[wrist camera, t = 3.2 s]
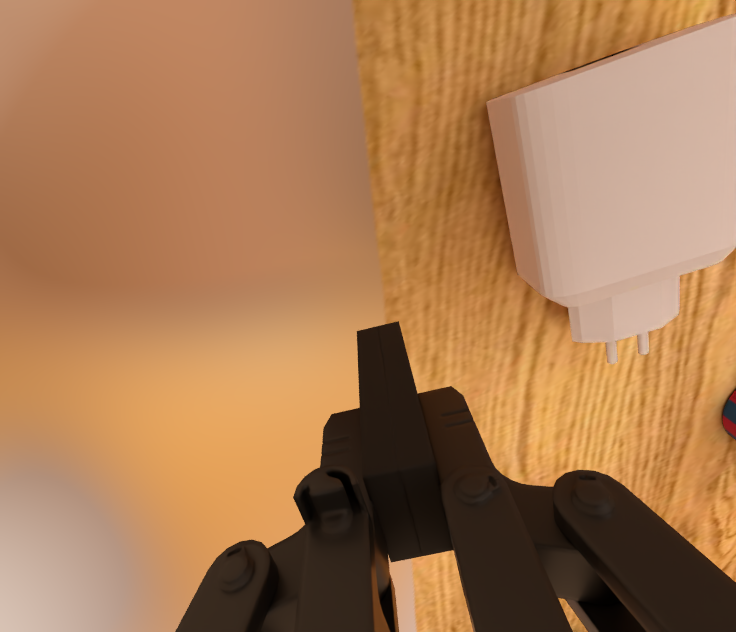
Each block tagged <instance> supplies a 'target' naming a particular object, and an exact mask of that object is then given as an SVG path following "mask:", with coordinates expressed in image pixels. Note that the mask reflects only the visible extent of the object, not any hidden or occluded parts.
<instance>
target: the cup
mask: <svg viewBox="0 0 736 632" xmlns="http://www.w3.org/2000/svg"><path fill="white" fill-rule="evenodd" d="M723 425H724V428H725V430H726V431H727V433H728V434H729V435H730V436H731V437H733V438H734V439H735V440H736V390H735V391H734V393H733V394H732V395H731V396H730V398H729V400H728V401H727V403H726V405H725V408H724V411H723Z"/></svg>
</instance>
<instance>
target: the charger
mask: <svg viewBox="0 0 736 632" xmlns="http://www.w3.org/2000/svg"><path fill="white" fill-rule="evenodd" d="M640 45H641V46H639V45H637V46H639V47H636V46H635V47H636V48H633V47H632V48H633V49H630V48H629V49H630V50H628V51H625V52H622V51H621V52H622V53H620V54H617V55H614V56H611V55H610V56H611V57H609V58H606V59H603V60H601V61H598V62H595V63H592V62H591V63H592V64H590V65H587V66H584V67H581V66H580V67H581V68H579V69H576V70H573V69H572V70H573V71H570V70H569V71H570V72H567V71H566V73H561V74H558V75H556V76H553V77H550V78H547V79H545V80H542V81H539V82H537V83H534V84H531V85H529V86H526V87H523V88H521V89H518V90H515V91H513V92H510V93H507V94H505V95H502V96H499V97H497V98H494V99H492V100H489V101H487V102H486V104H487V110H488V115H489V121H490V126H491V132H492V137H493V143H494V148H495V153H496V159H497V164H498V170H499V175H500V181H501V186H502V192H503V197H504V203H505V208H506V214H507V219H508V225H509V230H510V236H511V241H512V247H513V252H514V258H515V263H516V268H517V274H518V275H519V276H520V277H521V278H522V279H523V280H524V281H526V282H527V283H528V284H529V285H530V286H531V287H532V288H534V289H535V290H536V291H537V292H538V293H539V294H540V295H542V296H544V297H546V298H548V299H550V300H552V301H554V302H556V303H558V304H560V305H562V306H565V307H568V312H569V320H570V328H571V335H572V341H574V342H580V343H593V342H606V353H607V362H608V363H610V364H615V363H616V362H617V361H618V358H617V345H616V341H618V340H622V339H625V338H628V337H632V336H635V335H637V339H638V353H639V354H641V355H646V354H647V353H649V339H648V332H649V331H652V330H656V329H659V328H662V327H663V326H664V325H666V324H667V323H668V322H670V321H671V320H672V319H673V318H675V317H676V316H677V315H679V301H680V275H683V274H687V273H690V272H693V271H696V270H700V269H703V268H706V267H709V266H712V265H715V264H717V263H720V262H721V261H722V260H723V259H724V258H726V257H727V256H728V255H729V254H730V253H731V252H732V251H733V250H734V249H735V248H736V13H735V14H731V15H728V16H725V17H721V18H718V19H715V20H711V21H708V22H705V23H701V24H698V25H695V26H692V27H689V28H686V29H683V30H680V31H677V32H674V33H671V34H668V35H665V36H663V37H660V38H657V39H654V40H651V41H649V42H646V43H643V44H640ZM626 50H627V49H626ZM623 51H624V50H623ZM618 53H619V52H618ZM615 54H616V53H615ZM607 57H608V56H607ZM604 58H605V57H604ZM599 60H600V59H599ZM596 61H597V60H596ZM588 64H589V63H588ZM585 65H586V64H585ZM577 68H578V67H577ZM574 69H575V68H574Z"/></svg>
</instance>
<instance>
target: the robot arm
mask: <svg viewBox="0 0 736 632" xmlns="http://www.w3.org/2000/svg"><path fill="white" fill-rule="evenodd" d="M357 345H358V371H359V372H358V373H359V398H360V408H358V409H353V410H348V411H344V412H340V413H335V414H332V415H331V416H330V418H329V420H328V421H327V423H326V425H325V427H324V431H323V444H322V456H321V465H320V468H317V469H315V470H314V471H312V472H311V473H309V474H308V475H307V476H305V477H304V478H303V480H302V481H301V482H300V484H299V485H298V486H297V488H296V491H295V494H294V497H293V498H294V500H295V502H296V505H297V507H298V509H299V511H300V513H301V516H302V518H303V520H304V522H305V525H304V526H303V527H302V528H301V529H300V530H299V531H298V532H296V533H295V534H293V535H292V536H290V537H288V538H286V539H284V540H283V541H281V542H279V543H277V544H275V545H273V546H271V547H269V548H266V547H265V545H264V544H262V542H258V541H255V540H247V541H241V542H239V543H237V544H235V545H233V546H231V547H229V548H227V549H226V550H225V551H224V552H223V553H222V554H221V555H219V556H218V557H217V558H216V560H215V561H214V563H213V564H212V565H211V567H210V568H209V570H208V571H207V573H206V575H205V577H204V579H203V581H202V583H201V585H200V586H199V588H198V590H197V592H196V594H195V596H194V598H193V599H192V601H191V603H190V605H189V607H188V609H187V611H186V613H185V615H184V616H183V618H182V620H181V622H180V624H179V626H178V628H177V630H176V632H399V627H398V617H397V607H396V598H395V588H394V585H393V582H392V578H391V575H390V572H389V562H388V555H389V558H390V560H391V562H395V561H400V560H405V559H411V558H416V557H421V556H426V555H431V554H436V553H441V552H446V551H451V550H454V553H455V557H456V561H457V566H458V570H459V574H460V579H461V583H462V587H463V592H464V596H465V599H466V603H467V607H468V611H469V615H470V619H471V623H472V627H473V631H474V632H573V631H572V629H571V627H570V624H569V622H568V620H567V618H566V616H565V613H564V611H563V609H562V607H561V604H560V602H559V600H558V598H563V599H565V600H566V601H567V603H568V604H569V605H570V607H571V608H572V609H573V611H574V612H575V614H576V615H577V616H578V618H579V619H580V621H581V622H582V623H583V625H584V626H585V628H586V629H587V630H588V632H736V582H734V581H733V580H732V579H731V578H730V577H729V576H727V575H726V574H725V573H724V572H723V571H722V570H721V569H719V568H718V567H717V566H716V565H715V564H714V563H712V562H711V561H710V560H709V559H708V558H707V557H705V556H704V555H703V554H702V553H701V552H700V551H699V550H697V549H696V548H695V547H694V546H693V545H692V544H690V543H689V542H688V541H687V540H686V539H685V538H684V537H682V536H681V535H680V534H679V533H678V532H677V531H675V530H674V529H673V528H672V527H671V526H670V525H669V524H667V523H666V522H665V521H664V520H663V519H662V518H660V517H659V516H658V515H657V514H656V513H655V512H654V511H652V510H651V509H650V508H649V507H648V506H647V505H645V504H644V503H643V502H642V501H641V500H640V499H639V498H637V497H636V496H635V495H634V494H633V493H632V492H630V491H629V490H628V489H627V488H626V487H625V486H624V485H622V484H621V483H619V482H618V481H616V480H615V479H613V478H612V477H610V476H608V475H605V474H602V473H599V472H596V471H589V470H576V471H572V472H568V473H565V474H564V475H563V476H561V477H560V478H559V479H557V480H556V482H555V485H554V487H546V486H533V485H526V484H521V483H518V482H515V481H512V480H510V479H509V478H507V477H505V476H504V475H502V474H501V473H500V472H499V471H498V470H497V469H496V468H495V466H494V465H493V463H492V461H491V459H490V457H489V454H488V452H487V450H486V447H485V445H484V443H483V440H482V438H481V436H480V433H479V431H478V429H477V427H476V424H475V422H474V420H473V417H472V415H471V413H470V411H469V408H468V406H467V403H466V401H465V399H464V397H463V395H462V394H460V393H459V392H458V391H457V390H455V389H454V388H453V387H451V386H450V387H446V388H441V389H437V390H432V391H428V392H423V393H419V394H417V390H416V386H415V383H414V379H413V375H412V371H411V367H410V363H409V360H408V356H407V352H406V348H405V344H404V340H403V337H402V333H401V329H400V325H399V321H398V322H394V323H390V324H385V325H381V326H377V327H373V328H368V329H365V330H360V331H357Z"/></svg>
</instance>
